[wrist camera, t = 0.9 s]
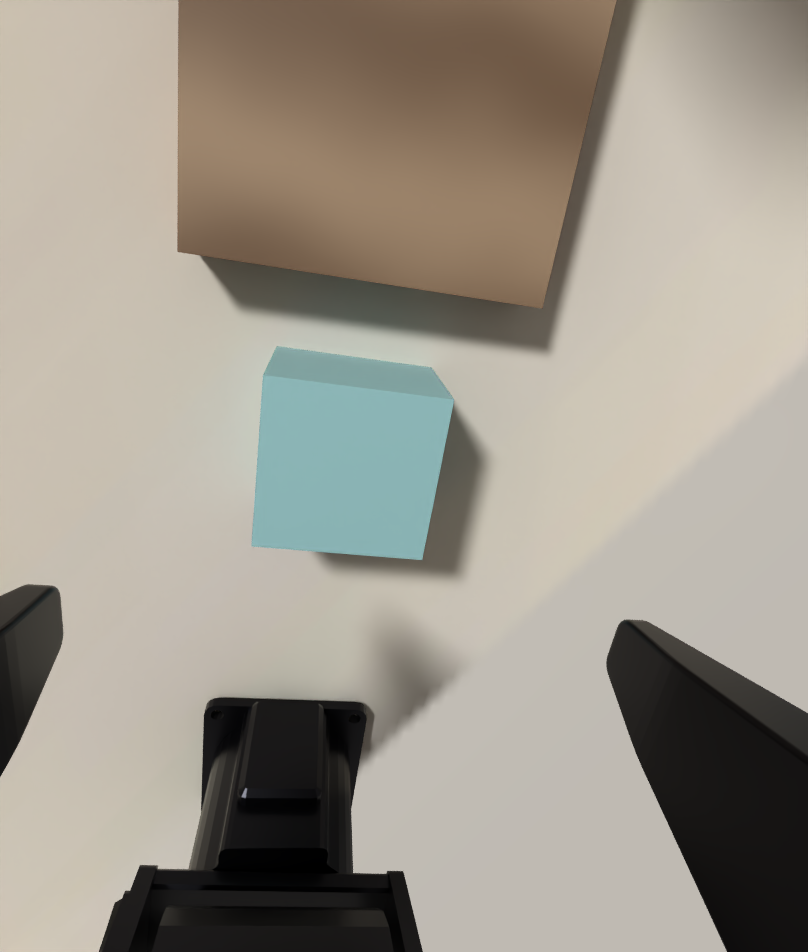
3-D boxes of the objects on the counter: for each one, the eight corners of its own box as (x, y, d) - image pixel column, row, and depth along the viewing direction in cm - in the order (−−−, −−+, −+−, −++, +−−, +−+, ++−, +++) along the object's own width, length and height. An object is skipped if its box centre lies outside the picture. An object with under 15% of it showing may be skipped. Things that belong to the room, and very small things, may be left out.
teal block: (406, 502, 21) (422, 560, 17) (266, 488, 20) (251, 546, 16) (430, 366, 19) (454, 399, 15) (277, 345, 18) (263, 375, 14)
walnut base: (521, 300, 18) (542, 308, 16) (194, 249, 17) (177, 251, 15) (613, -108, 14) (654, -156, 13) (201, -226, 13) (180, -303, 11)
